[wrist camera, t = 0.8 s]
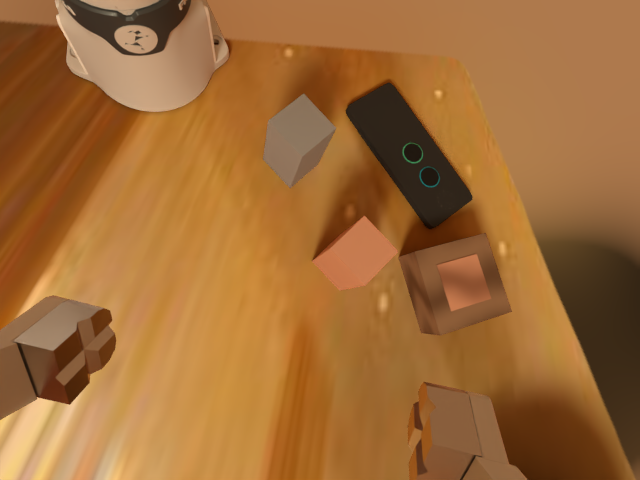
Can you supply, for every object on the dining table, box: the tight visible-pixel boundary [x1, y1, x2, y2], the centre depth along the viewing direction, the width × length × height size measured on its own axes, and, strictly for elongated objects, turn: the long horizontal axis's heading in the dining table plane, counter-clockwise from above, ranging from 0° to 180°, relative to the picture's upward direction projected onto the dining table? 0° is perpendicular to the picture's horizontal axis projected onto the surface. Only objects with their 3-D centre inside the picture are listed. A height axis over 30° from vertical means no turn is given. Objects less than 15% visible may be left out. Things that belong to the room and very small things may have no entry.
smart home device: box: [346, 83, 472, 229], centre depth 51 cm, size 8×2×20 cm
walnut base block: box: [399, 233, 512, 335], centre depth 47 cm, size 10×10×5 cm
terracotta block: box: [312, 216, 398, 290], centre depth 42 cm, size 5×5×10 cm
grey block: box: [263, 93, 336, 188], centre depth 43 cm, size 5×5×10 cm
